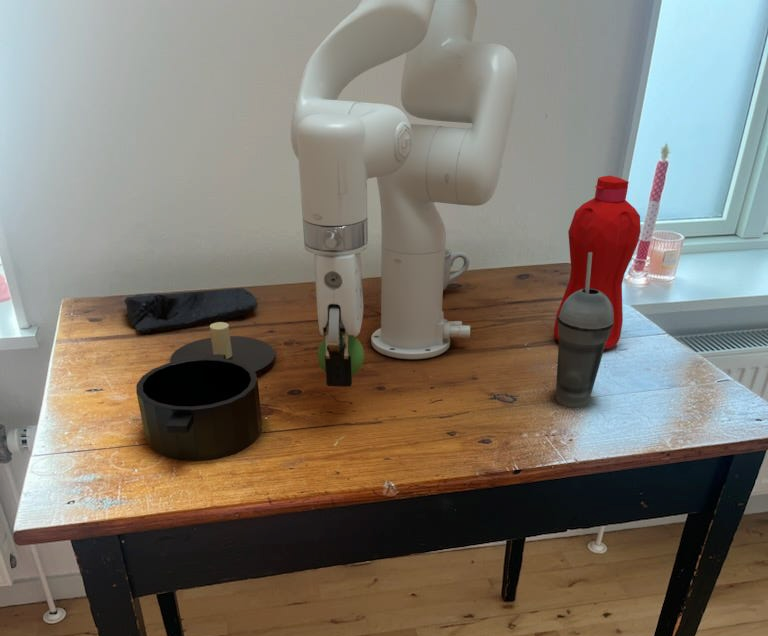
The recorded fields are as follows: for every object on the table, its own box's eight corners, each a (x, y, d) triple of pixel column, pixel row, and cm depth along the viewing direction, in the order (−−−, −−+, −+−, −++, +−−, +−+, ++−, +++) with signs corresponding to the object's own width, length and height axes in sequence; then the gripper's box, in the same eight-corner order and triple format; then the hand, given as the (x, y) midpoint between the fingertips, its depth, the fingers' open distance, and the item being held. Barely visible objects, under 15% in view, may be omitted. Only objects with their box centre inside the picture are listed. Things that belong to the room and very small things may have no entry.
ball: (366, 367, 101) (365, 324, 98) (362, 387, 96) (361, 344, 93) (321, 366, 102) (319, 324, 98) (316, 387, 97) (313, 343, 93)
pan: (273, 397, 105) (269, 350, 101) (245, 474, 89) (239, 422, 85) (170, 394, 105) (162, 347, 101) (123, 470, 89) (111, 418, 85)
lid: (282, 344, 120) (280, 307, 117) (265, 387, 108) (262, 348, 104) (186, 341, 121) (181, 305, 117) (158, 384, 108) (151, 345, 105)
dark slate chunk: (264, 322, 128) (262, 294, 125) (131, 337, 122) (125, 309, 119) (248, 293, 140) (246, 267, 137) (125, 305, 134) (120, 279, 131)
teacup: (387, 301, 137) (388, 257, 132) (396, 282, 145) (397, 239, 141) (464, 306, 135) (467, 261, 130) (468, 286, 143) (471, 243, 139)
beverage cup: (568, 416, 101) (593, 267, 89) (535, 394, 106) (554, 251, 95) (609, 405, 104) (639, 259, 92) (575, 384, 109) (599, 243, 97)
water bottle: (635, 346, 121) (670, 179, 106) (580, 358, 117) (609, 186, 102) (597, 326, 127) (626, 167, 113) (544, 337, 123) (567, 173, 109)
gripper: (362, 258, 81) (365, 406, 92) (372, 212, 95) (374, 346, 105) (293, 257, 81) (304, 405, 92) (313, 212, 95) (320, 345, 106)
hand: (341, 372), depth 99 cm, fingers closed on ball, 5 cm apart
